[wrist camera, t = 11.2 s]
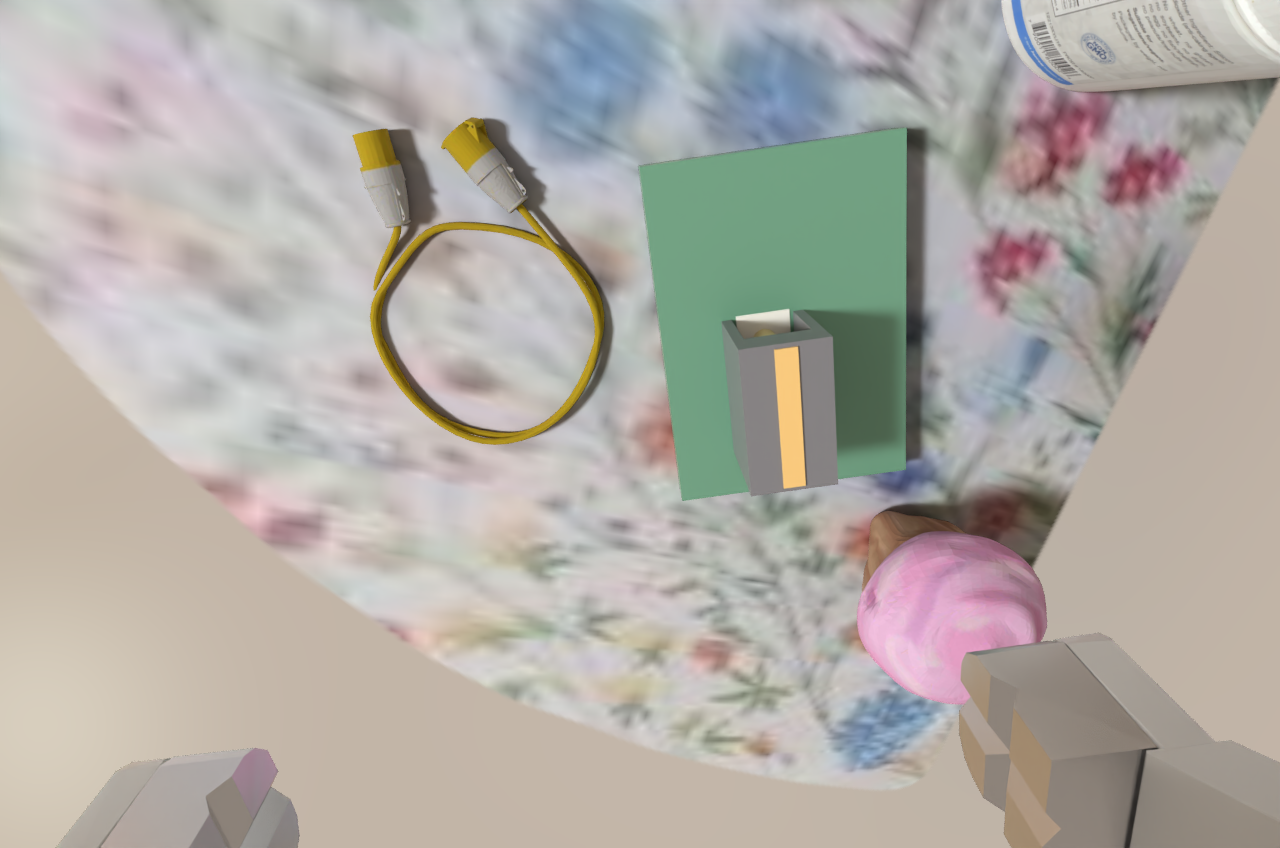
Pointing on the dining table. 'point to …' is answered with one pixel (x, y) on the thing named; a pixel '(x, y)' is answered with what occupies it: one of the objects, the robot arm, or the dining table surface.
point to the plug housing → (783, 406)
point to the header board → (782, 287)
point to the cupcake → (942, 602)
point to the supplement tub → (1144, 41)
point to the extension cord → (498, 184)
